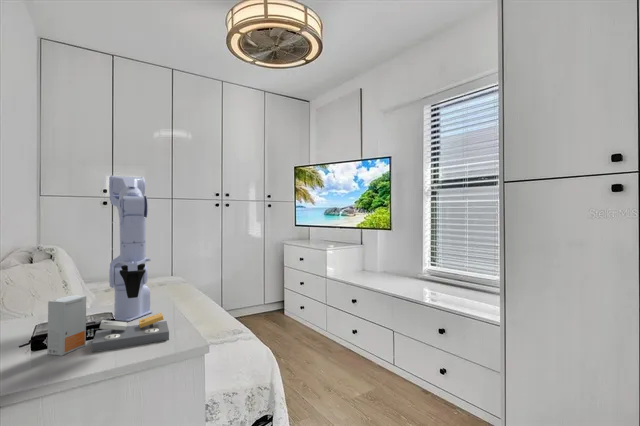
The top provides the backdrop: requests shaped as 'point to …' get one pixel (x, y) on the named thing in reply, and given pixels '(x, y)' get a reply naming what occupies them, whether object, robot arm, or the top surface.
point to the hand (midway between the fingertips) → (133, 294)
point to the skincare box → (66, 324)
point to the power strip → (130, 336)
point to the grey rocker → (113, 325)
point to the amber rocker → (150, 320)
